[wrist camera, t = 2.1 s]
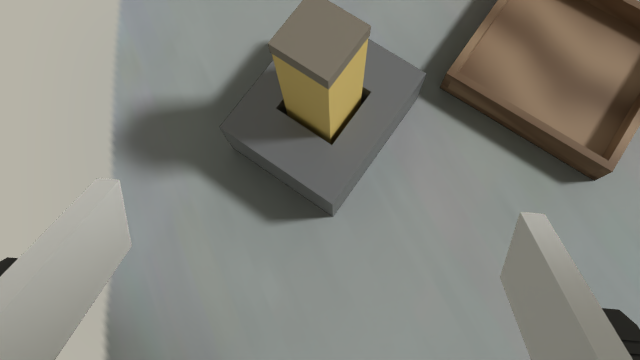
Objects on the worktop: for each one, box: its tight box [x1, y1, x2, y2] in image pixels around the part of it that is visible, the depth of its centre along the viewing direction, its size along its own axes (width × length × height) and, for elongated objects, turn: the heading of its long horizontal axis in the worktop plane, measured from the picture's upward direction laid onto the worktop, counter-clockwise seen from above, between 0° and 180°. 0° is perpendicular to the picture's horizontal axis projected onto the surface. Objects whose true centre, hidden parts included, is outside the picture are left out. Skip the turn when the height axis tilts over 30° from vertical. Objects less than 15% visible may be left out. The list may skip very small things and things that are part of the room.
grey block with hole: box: [220, 39, 426, 216], centre depth 37 cm, size 12×10×4 cm
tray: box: [440, 0, 640, 181], centre depth 38 cm, size 14×14×2 cm
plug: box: [268, 0, 371, 145], centre depth 32 cm, size 4×4×12 cm
